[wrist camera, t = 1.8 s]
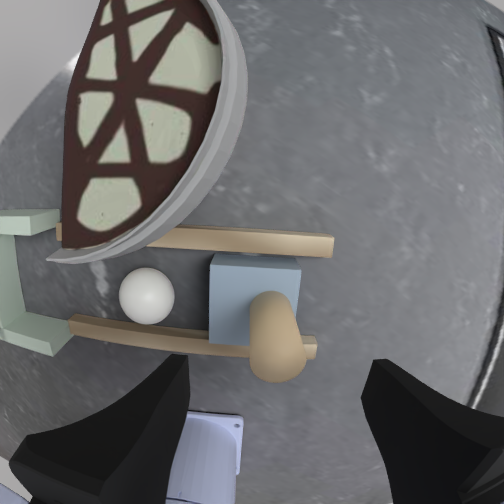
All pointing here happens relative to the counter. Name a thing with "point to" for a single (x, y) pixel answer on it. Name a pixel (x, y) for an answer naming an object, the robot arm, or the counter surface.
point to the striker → (258, 312)
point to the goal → (10, 293)
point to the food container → (147, 123)
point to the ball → (146, 296)
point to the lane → (204, 240)
